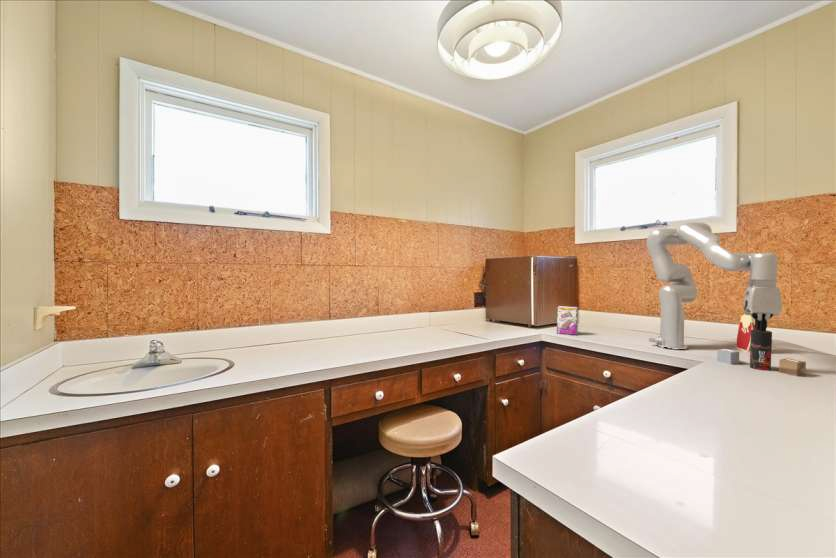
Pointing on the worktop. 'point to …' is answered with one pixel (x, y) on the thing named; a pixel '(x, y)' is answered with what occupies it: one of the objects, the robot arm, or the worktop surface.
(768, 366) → the deodorant
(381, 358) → the worktop surface
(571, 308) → the candy bar box
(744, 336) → the milk carton
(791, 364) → the walnut block
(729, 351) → the grey block
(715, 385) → the worktop surface
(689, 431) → the worktop surface
